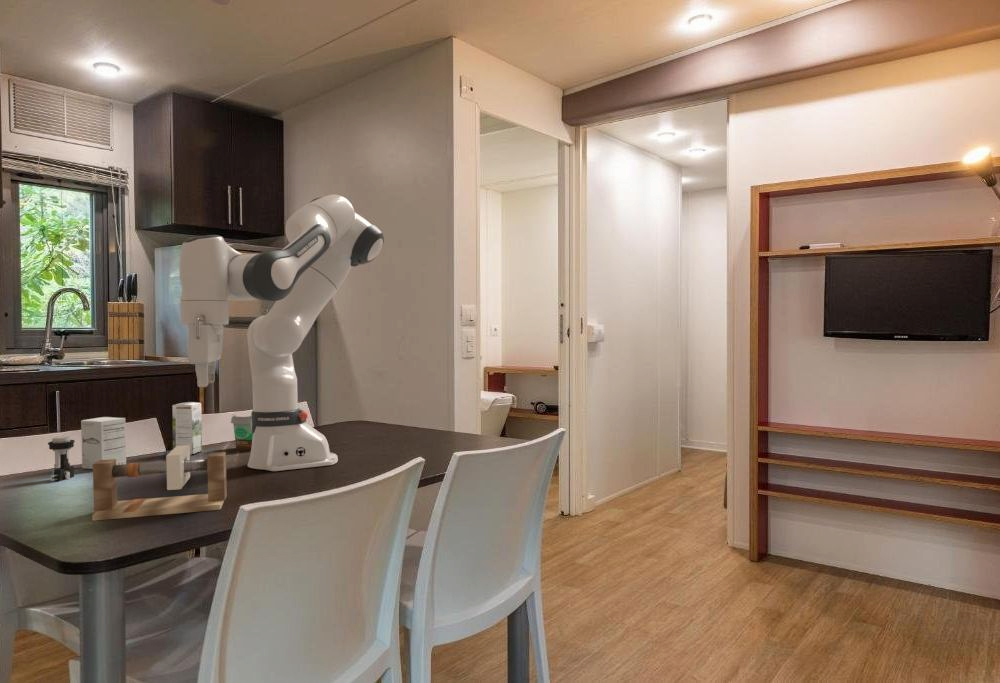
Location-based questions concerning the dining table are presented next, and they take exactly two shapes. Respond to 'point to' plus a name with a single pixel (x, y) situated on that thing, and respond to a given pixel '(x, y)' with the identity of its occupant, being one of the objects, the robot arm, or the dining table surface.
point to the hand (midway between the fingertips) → (206, 384)
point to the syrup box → (187, 426)
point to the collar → (177, 467)
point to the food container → (242, 432)
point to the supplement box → (103, 440)
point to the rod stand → (113, 509)
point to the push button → (61, 458)
